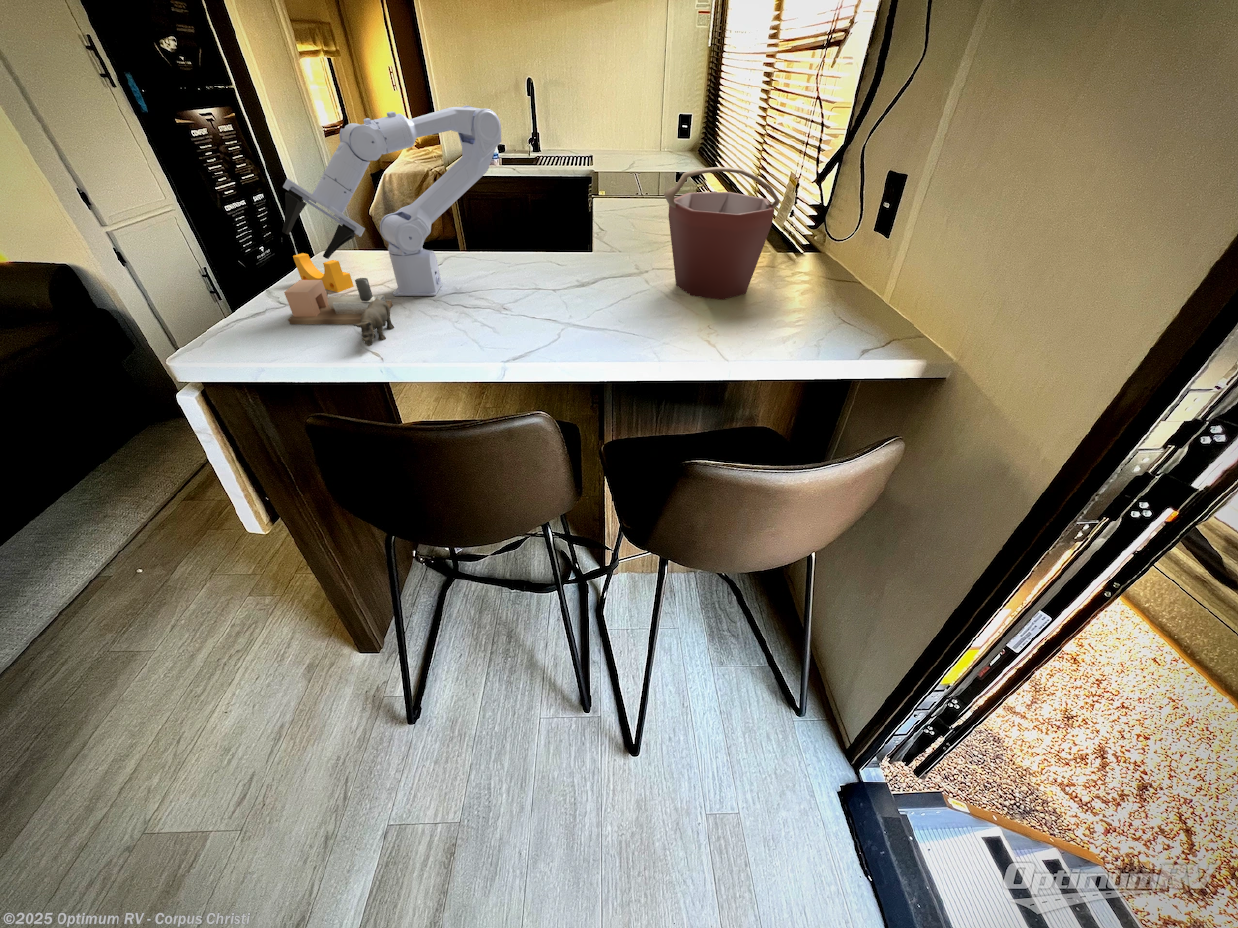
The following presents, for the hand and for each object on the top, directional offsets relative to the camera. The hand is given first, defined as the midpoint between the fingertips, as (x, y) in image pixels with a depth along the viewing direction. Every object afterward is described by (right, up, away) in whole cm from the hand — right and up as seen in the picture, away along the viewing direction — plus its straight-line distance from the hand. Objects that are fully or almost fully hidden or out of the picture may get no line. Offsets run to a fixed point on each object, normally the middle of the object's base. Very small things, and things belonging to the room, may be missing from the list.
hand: (305, 245), depth 101 cm
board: (+3, -12, +6) cm, 14 cm away
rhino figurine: (+15, -19, -2) cm, 24 cm away
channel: (+8, -11, +6) cm, 15 cm away
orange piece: (-7, -1, +20) cm, 21 cm away
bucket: (+84, 0, +23) cm, 88 cm away
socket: (-2, -11, +6) cm, 12 cm away
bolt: (+7, -11, +6) cm, 14 cm away
